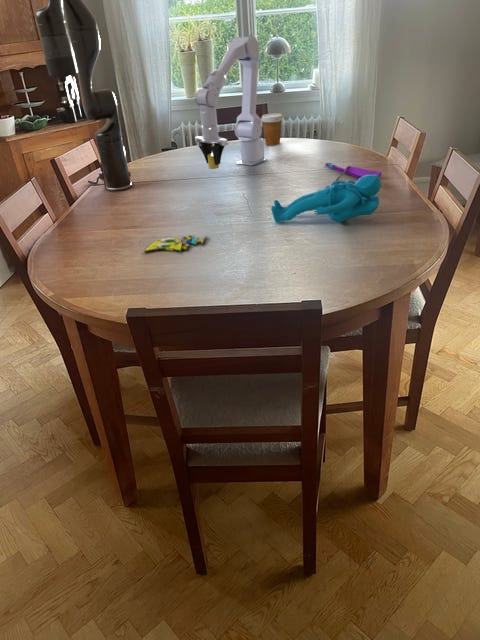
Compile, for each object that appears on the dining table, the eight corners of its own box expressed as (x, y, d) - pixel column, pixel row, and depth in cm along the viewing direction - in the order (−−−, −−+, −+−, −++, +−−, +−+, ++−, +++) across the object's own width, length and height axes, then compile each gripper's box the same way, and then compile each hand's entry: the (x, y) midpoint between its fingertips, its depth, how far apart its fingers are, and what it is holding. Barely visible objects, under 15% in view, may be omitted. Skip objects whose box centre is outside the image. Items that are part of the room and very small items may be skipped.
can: (213, 169, 177) (211, 156, 175) (206, 168, 180) (205, 155, 177) (220, 167, 179) (219, 154, 177) (214, 165, 182) (213, 152, 179)
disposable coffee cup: (259, 145, 216) (257, 117, 209) (266, 140, 223) (265, 113, 216) (279, 146, 212) (278, 117, 206) (286, 140, 220) (285, 112, 213)
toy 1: (199, 248, 125) (143, 249, 127) (199, 251, 125) (144, 252, 127) (206, 233, 133) (154, 234, 135) (206, 236, 133) (154, 237, 136)
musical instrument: (369, 191, 157) (389, 166, 169) (368, 185, 155) (389, 160, 168) (302, 188, 169) (326, 165, 182) (302, 182, 168) (325, 160, 180)
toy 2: (275, 189, 144) (378, 163, 133) (284, 222, 149) (384, 199, 138) (266, 210, 130) (379, 182, 120) (276, 245, 135) (386, 221, 125)
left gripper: (68, 55, 121) (84, 123, 129) (78, 52, 133) (92, 114, 141) (38, 58, 120) (56, 126, 129) (50, 54, 132) (66, 117, 141)
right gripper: (187, 126, 173) (192, 164, 180) (216, 129, 165) (220, 168, 172) (201, 122, 177) (205, 159, 185) (230, 124, 169) (233, 163, 176)
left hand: (75, 120), depth 135 cm, fingers open, 8 cm apart
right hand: (213, 163), depth 179 cm, fingers closed on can, 4 cm apart
